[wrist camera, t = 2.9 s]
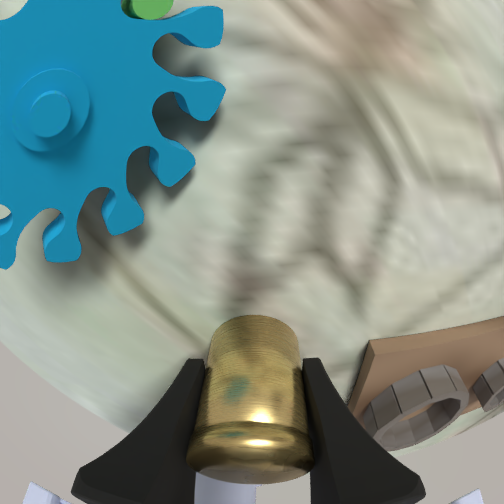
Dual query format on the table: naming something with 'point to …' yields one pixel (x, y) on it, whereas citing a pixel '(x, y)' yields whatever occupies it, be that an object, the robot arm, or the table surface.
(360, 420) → the manifold board
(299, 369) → the brass nipple
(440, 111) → the table surface
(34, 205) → the gear
